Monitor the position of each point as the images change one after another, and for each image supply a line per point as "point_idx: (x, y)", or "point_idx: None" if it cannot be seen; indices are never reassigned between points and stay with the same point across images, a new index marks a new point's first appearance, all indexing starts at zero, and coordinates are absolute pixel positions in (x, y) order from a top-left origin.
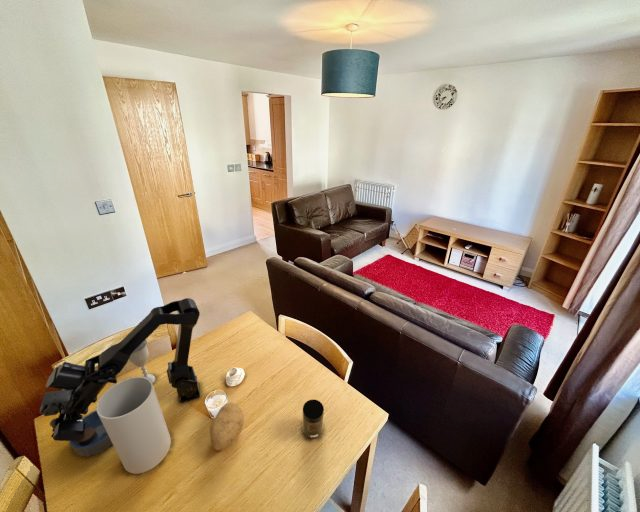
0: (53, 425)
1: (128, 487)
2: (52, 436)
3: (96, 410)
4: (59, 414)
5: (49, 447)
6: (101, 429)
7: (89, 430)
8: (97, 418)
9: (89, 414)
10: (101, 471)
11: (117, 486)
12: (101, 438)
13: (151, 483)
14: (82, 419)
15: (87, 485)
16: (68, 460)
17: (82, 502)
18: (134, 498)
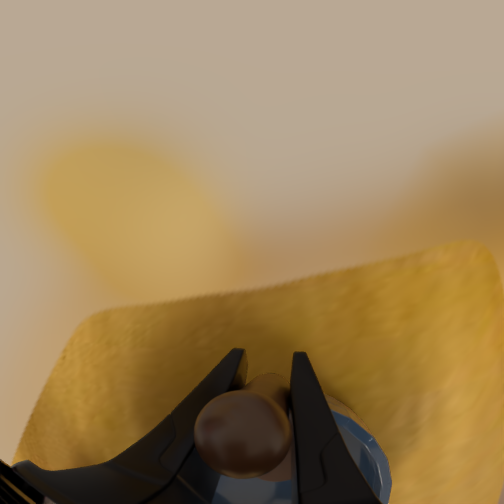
0: (197, 422)
1: (46, 461)
2: (230, 356)
3: (385, 499)
4: (349, 471)
5: (344, 287)
6: (288, 484)
7: (289, 463)
8: (369, 470)
9: (383, 474)
10: (107, 441)
11: (55, 449)
12: (235, 480)
13: None
14: (373, 448)
15: (87, 400)
16: (217, 364)
17: (56, 378)
18: (26, 456)
